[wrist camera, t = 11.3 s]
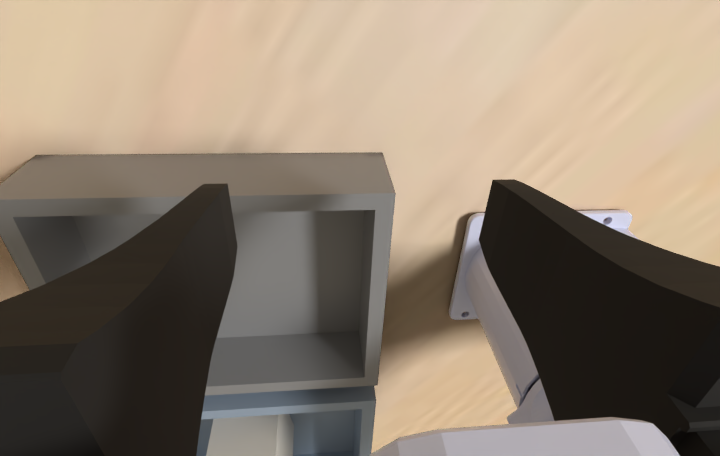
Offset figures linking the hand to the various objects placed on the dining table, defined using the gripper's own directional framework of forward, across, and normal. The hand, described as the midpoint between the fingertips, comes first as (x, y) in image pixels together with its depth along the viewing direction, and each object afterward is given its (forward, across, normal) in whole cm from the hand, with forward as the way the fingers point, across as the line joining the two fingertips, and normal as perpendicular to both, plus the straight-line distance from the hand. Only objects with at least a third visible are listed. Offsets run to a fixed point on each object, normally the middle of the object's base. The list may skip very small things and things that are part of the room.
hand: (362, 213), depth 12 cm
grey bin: (+9, +6, +9) cm, 14 cm away
